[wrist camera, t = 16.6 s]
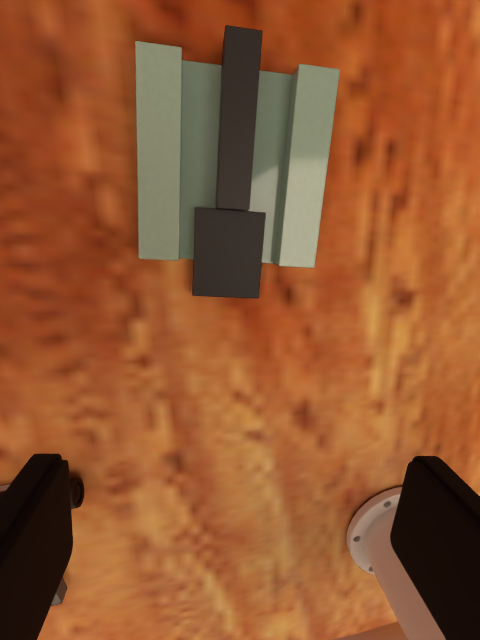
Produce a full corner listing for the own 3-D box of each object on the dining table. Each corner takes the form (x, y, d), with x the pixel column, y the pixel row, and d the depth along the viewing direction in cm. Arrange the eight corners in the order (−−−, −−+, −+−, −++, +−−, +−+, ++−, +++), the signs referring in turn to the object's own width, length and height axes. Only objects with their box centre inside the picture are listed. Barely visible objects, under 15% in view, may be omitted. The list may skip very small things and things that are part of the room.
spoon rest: (328, 81, 25) (340, 68, 23) (306, 265, 29) (314, 268, 27) (140, 56, 23) (134, 40, 21) (143, 255, 27) (138, 258, 25)
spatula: (200, 43, 23) (200, 20, 21) (277, 54, 24) (286, 34, 21) (192, 293, 28) (191, 300, 26) (256, 296, 29) (262, 303, 26)
